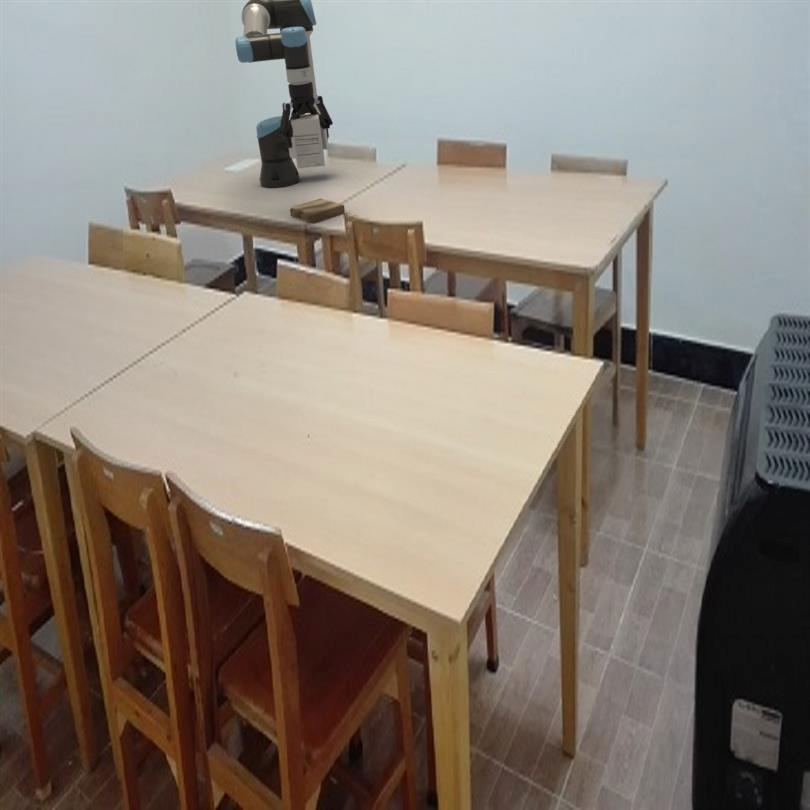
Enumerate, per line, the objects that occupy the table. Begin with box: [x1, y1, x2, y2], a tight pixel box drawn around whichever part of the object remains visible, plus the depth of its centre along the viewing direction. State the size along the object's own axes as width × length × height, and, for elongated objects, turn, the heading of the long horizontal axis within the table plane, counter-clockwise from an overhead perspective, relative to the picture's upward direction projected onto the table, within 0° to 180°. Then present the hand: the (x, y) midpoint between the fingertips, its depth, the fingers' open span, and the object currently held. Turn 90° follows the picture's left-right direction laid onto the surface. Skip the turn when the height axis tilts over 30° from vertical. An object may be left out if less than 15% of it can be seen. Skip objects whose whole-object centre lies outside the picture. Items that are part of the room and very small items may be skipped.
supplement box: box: [291, 114, 326, 170], centre depth 260 cm, size 9×9×15 cm
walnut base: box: [289, 197, 346, 224], centre depth 272 cm, size 13×13×3 cm
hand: (309, 153), depth 262 cm, fingers closed on supplement box, 12 cm apart
